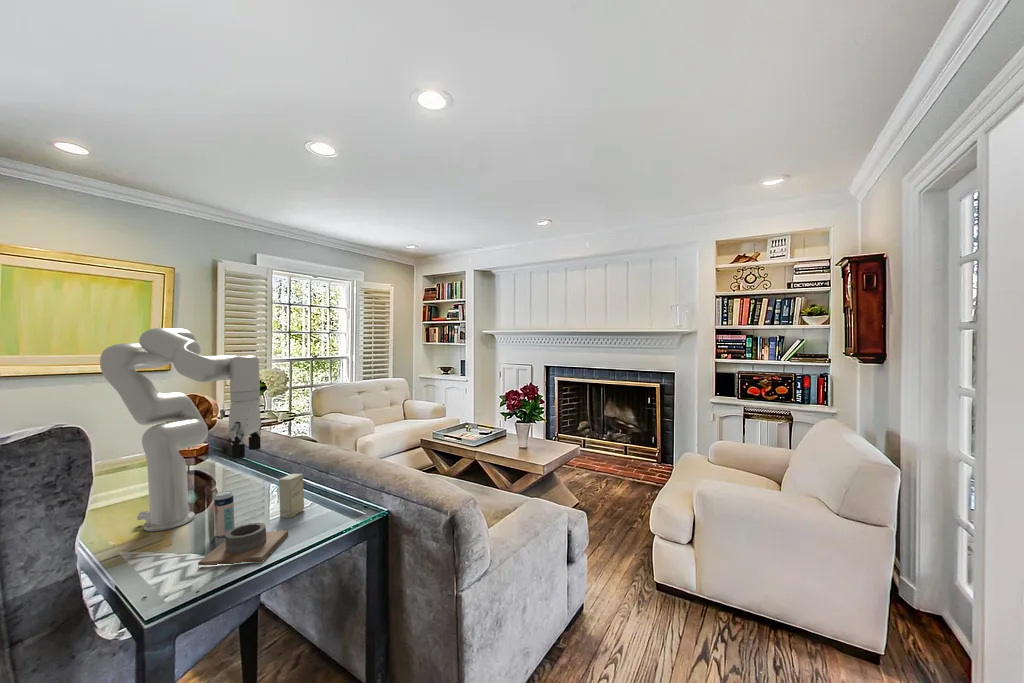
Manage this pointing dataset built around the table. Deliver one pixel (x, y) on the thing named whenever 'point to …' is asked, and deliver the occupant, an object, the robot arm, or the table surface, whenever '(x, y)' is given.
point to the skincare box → (291, 495)
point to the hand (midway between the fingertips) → (247, 453)
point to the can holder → (245, 545)
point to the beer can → (223, 513)
